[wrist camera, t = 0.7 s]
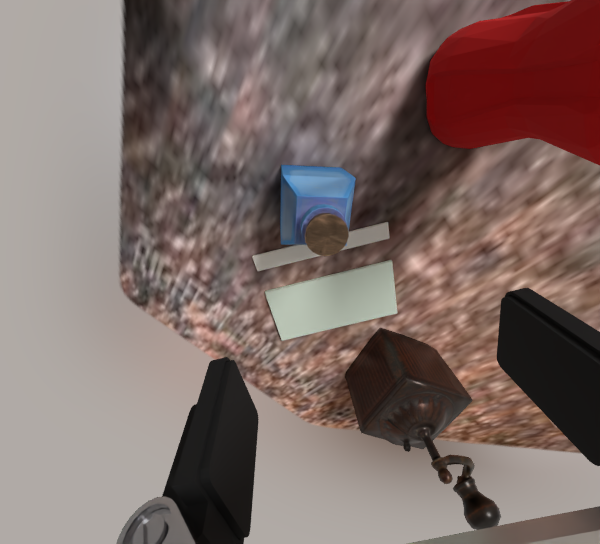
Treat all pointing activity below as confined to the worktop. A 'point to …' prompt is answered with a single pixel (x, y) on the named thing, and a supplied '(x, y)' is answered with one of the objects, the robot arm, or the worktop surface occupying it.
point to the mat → (333, 300)
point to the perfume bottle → (316, 207)
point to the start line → (303, 253)
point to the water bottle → (521, 80)
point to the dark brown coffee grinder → (415, 408)
